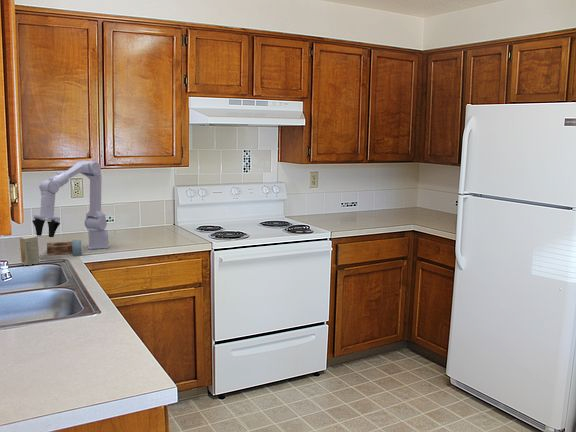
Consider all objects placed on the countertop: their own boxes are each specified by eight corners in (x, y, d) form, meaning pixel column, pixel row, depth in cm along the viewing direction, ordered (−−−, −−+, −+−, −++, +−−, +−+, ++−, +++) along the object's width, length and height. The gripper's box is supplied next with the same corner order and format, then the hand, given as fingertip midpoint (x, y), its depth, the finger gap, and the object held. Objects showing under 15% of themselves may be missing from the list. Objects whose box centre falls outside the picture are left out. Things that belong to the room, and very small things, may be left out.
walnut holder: (73, 248, 284) (73, 241, 284) (74, 253, 273) (74, 245, 273) (47, 250, 280) (46, 242, 279) (47, 255, 269) (47, 247, 268)
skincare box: (35, 262, 254) (33, 235, 252) (39, 263, 251) (38, 236, 250) (20, 264, 249) (19, 237, 248) (25, 266, 247) (24, 238, 245)
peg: (81, 254, 273) (80, 239, 272) (81, 255, 269) (81, 241, 268) (72, 254, 271) (71, 240, 270) (72, 256, 267) (72, 241, 266)
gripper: (28, 205, 259) (26, 234, 259) (52, 207, 253) (49, 237, 253) (41, 205, 265) (38, 235, 265) (64, 208, 259) (62, 237, 259)
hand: (45, 236), depth 259 cm, fingers open, 7 cm apart
